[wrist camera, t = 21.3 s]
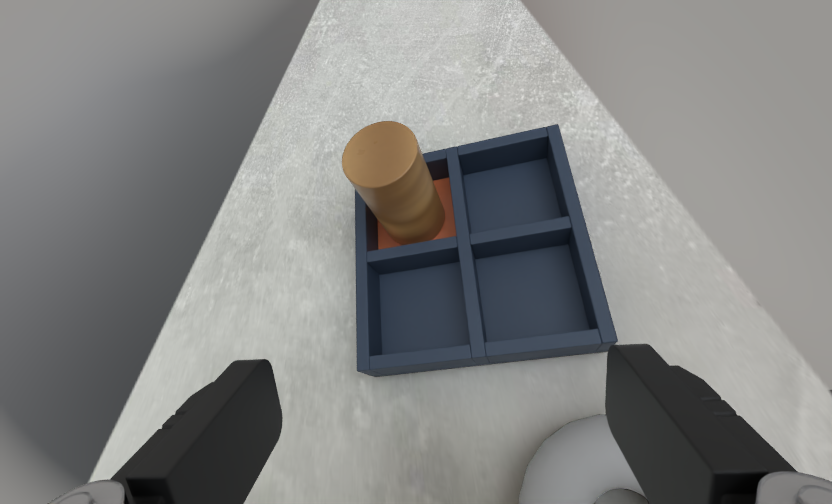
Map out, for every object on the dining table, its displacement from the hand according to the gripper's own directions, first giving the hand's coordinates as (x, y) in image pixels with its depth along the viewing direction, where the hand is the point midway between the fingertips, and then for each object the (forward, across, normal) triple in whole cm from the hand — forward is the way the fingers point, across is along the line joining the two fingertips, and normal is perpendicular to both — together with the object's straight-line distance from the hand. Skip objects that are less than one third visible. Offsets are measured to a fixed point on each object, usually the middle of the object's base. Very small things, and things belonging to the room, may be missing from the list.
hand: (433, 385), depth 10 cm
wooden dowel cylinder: (+20, +2, 0) cm, 21 cm away
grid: (+18, -2, +3) cm, 19 cm away
